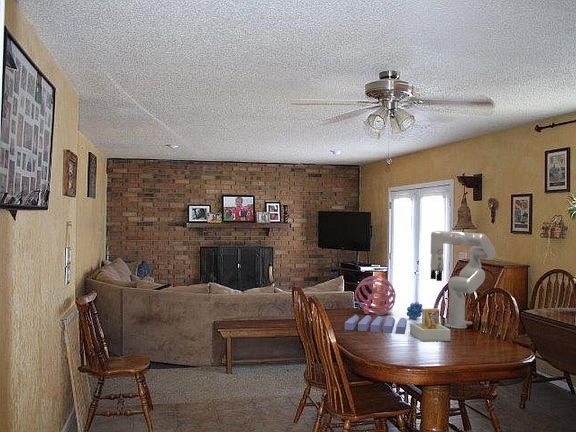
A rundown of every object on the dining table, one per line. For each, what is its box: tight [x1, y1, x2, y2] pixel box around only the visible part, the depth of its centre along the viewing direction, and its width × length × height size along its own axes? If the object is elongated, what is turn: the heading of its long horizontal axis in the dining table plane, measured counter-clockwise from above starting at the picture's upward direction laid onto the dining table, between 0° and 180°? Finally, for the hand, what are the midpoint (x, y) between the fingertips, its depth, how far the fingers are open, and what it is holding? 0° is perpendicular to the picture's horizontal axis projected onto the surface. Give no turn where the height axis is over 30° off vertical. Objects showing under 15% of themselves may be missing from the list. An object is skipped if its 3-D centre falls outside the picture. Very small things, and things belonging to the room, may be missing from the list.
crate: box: [409, 322, 451, 343], centre depth 319 cm, size 16×20×6 cm
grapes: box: [406, 301, 424, 321], centre depth 378 cm, size 12×7×12 cm, turn 99°
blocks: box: [344, 313, 408, 335], centre depth 348 cm, size 35×34×5 cm
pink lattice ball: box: [354, 275, 396, 317], centre depth 394 cm, size 28×28×27 cm
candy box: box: [421, 308, 440, 329], centre depth 318 cm, size 9×4×15 cm, turn 105°
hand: (436, 279), depth 344 cm, fingers open, 9 cm apart
